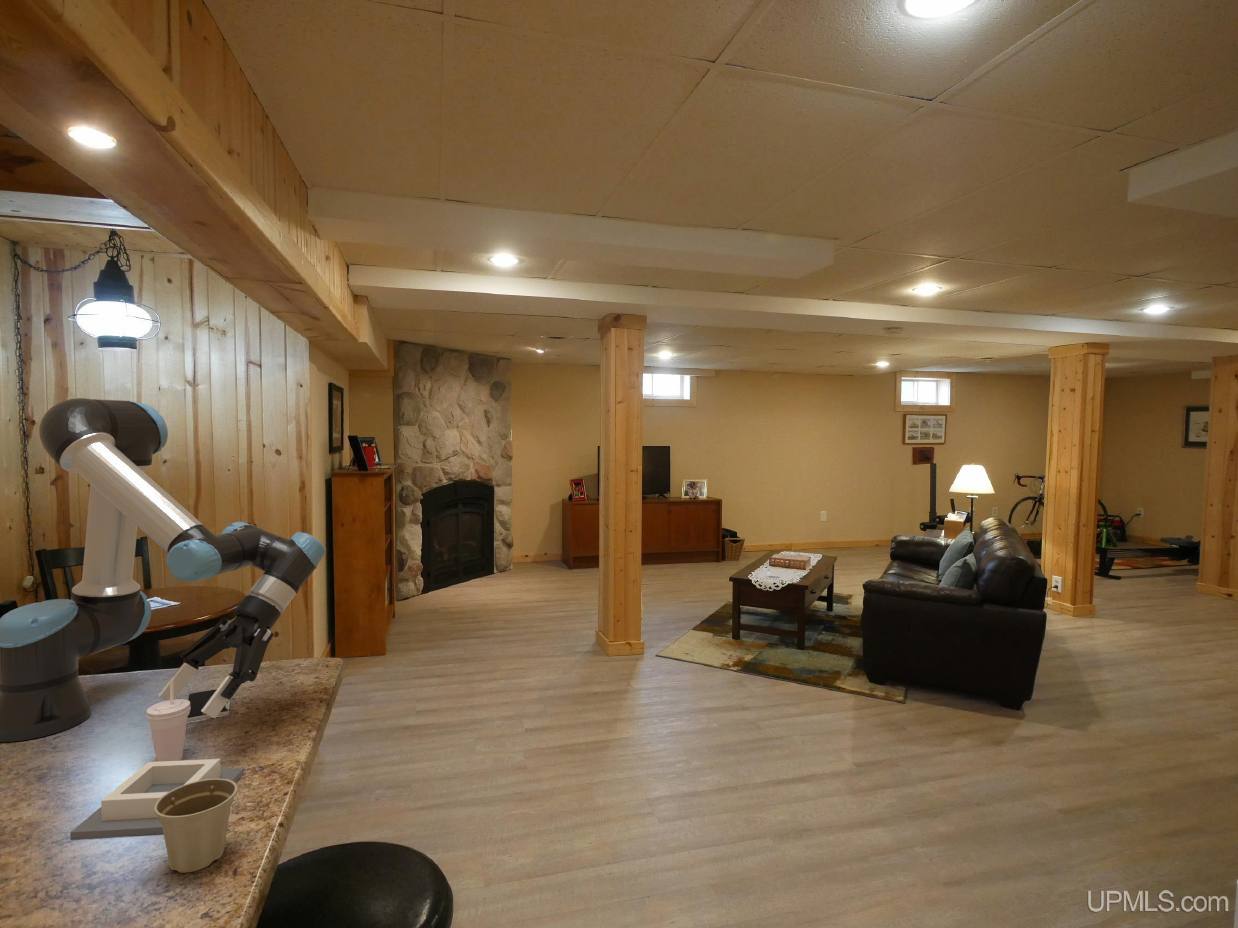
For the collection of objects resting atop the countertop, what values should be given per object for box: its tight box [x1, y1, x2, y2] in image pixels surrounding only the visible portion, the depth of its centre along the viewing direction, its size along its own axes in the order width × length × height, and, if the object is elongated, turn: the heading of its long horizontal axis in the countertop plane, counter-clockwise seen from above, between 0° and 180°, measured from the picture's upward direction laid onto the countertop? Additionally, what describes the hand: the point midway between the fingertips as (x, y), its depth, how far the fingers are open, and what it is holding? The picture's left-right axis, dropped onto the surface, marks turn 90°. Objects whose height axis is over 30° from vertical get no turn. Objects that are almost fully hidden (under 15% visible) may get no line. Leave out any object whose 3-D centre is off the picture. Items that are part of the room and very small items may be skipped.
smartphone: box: [187, 688, 231, 722], centre depth 134 cm, size 8×1×15 cm
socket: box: [69, 758, 245, 840], centre depth 98 cm, size 16×16×4 cm
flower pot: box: [154, 778, 238, 874], centre depth 86 cm, size 9×9×9 cm
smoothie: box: [145, 680, 191, 762], centre depth 111 cm, size 6×6×14 cm
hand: (185, 706), depth 113 cm, fingers open, 13 cm apart
